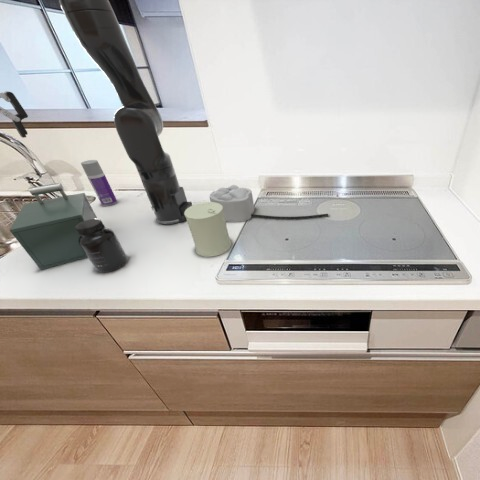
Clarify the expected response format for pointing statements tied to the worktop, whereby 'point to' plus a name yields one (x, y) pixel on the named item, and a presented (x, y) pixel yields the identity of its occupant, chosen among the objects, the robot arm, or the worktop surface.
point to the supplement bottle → (100, 245)
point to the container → (99, 182)
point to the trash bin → (55, 241)
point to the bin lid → (48, 208)
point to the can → (208, 228)
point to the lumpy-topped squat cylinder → (234, 202)
